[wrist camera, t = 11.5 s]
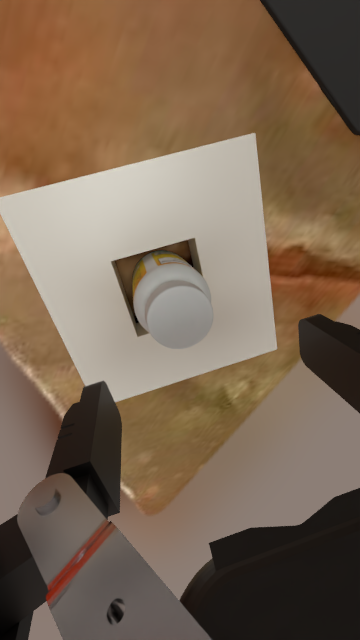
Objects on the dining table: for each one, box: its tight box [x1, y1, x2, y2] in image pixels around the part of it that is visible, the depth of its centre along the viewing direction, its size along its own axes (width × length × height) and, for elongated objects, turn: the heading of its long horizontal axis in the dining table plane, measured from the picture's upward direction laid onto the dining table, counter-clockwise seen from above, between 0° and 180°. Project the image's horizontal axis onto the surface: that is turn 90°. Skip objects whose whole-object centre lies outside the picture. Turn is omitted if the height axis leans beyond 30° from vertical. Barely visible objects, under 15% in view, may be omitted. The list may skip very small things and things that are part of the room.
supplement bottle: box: [132, 251, 213, 349], centre depth 20 cm, size 5×5×10 cm
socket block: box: [0, 133, 277, 402], centre depth 23 cm, size 18×18×3 cm
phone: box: [260, 0, 360, 135], centre depth 19 cm, size 7×1×15 cm
